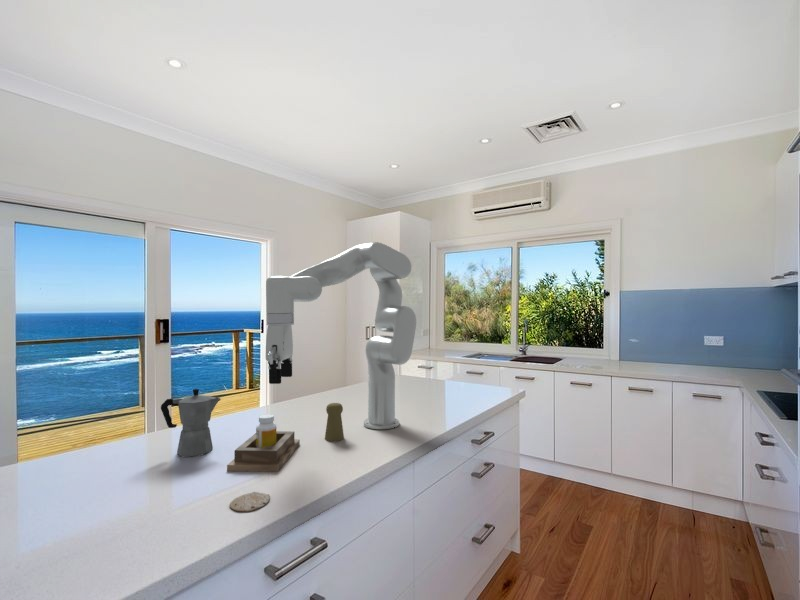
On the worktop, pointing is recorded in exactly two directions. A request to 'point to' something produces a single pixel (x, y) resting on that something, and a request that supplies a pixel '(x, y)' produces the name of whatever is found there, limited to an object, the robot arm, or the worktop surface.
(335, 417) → the cork
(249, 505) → the flatbread
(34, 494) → the worktop surface
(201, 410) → the coffeepot
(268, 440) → the supplement bottle
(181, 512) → the worktop surface
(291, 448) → the brown rectangular recessed tray
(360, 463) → the worktop surface
